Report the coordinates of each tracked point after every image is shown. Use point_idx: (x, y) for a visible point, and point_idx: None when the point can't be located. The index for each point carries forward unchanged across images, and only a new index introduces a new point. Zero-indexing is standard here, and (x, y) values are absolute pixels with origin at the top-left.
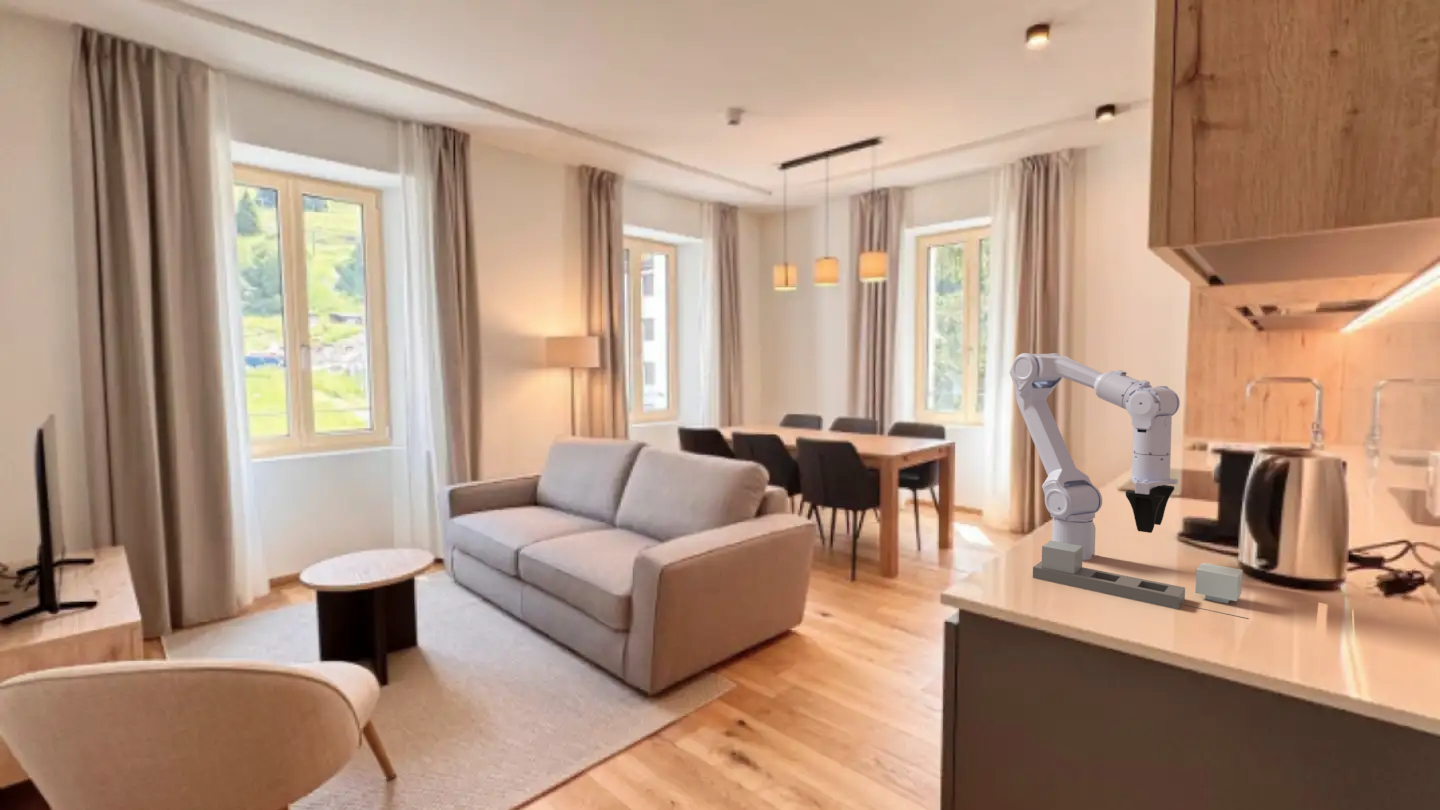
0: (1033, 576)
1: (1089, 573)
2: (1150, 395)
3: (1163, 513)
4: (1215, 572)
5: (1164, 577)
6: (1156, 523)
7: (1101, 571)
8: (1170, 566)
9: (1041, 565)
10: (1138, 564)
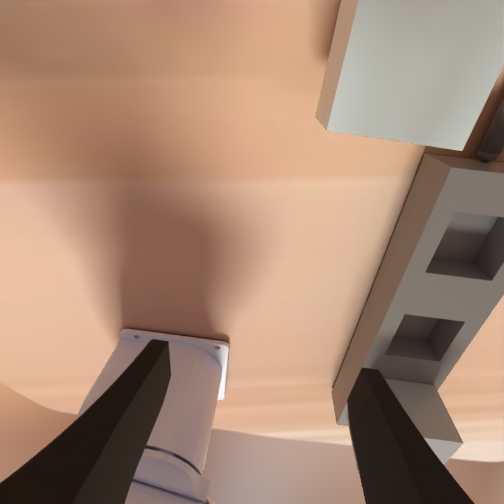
0: None
1: (409, 363)
2: None
3: (134, 387)
4: (491, 70)
5: (168, 206)
6: (168, 355)
7: (377, 346)
8: (44, 196)
9: None
10: (98, 261)
